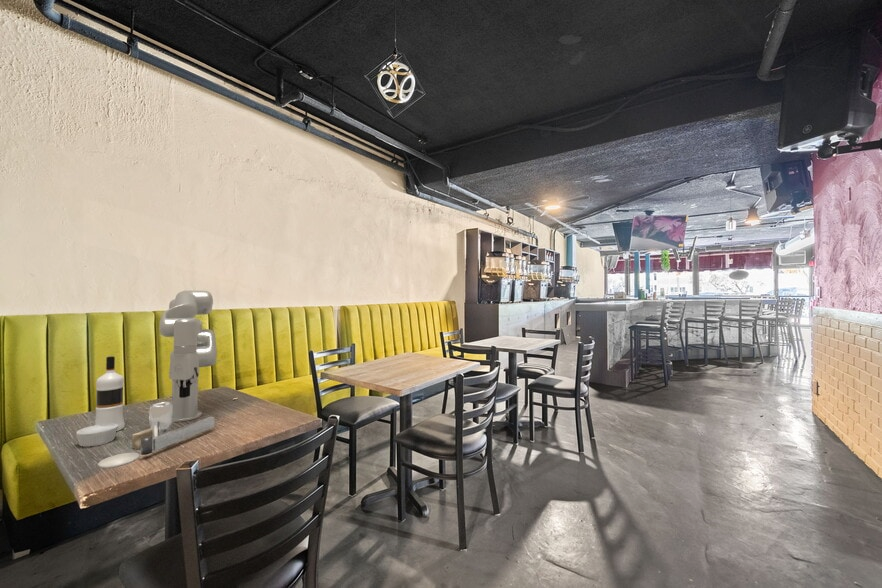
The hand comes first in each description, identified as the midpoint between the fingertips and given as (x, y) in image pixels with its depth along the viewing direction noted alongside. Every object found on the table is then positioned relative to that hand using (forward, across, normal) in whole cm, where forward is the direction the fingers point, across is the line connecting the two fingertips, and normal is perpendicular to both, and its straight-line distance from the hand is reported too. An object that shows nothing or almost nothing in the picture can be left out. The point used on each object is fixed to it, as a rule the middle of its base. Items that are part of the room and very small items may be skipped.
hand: (184, 396), depth 142 cm
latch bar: (+14, +7, -7) cm, 17 cm away
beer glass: (+15, +1, -10) cm, 18 cm away
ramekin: (+15, -25, -13) cm, 32 cm away
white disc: (+15, 0, -23) cm, 28 cm away
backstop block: (+15, -4, -10) cm, 19 cm away
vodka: (+14, -34, -3) cm, 37 cm away
